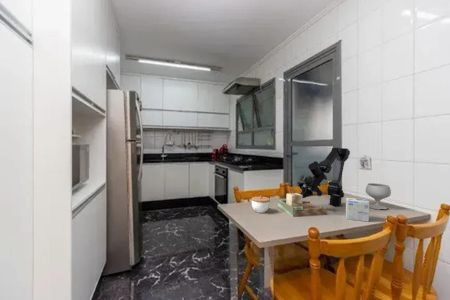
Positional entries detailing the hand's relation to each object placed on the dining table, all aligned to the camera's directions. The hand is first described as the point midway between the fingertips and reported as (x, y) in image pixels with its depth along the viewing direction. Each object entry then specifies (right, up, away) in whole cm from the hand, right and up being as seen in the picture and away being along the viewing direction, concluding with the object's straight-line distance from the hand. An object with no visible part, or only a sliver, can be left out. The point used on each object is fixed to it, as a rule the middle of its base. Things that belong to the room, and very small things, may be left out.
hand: (299, 198), depth 142 cm
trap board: (+1, -8, +1) cm, 8 cm away
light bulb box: (+27, -9, -12) cm, 31 cm away
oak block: (-4, -5, -1) cm, 6 cm away
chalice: (+55, -9, +13) cm, 57 cm away
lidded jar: (-24, -7, -2) cm, 25 cm away
